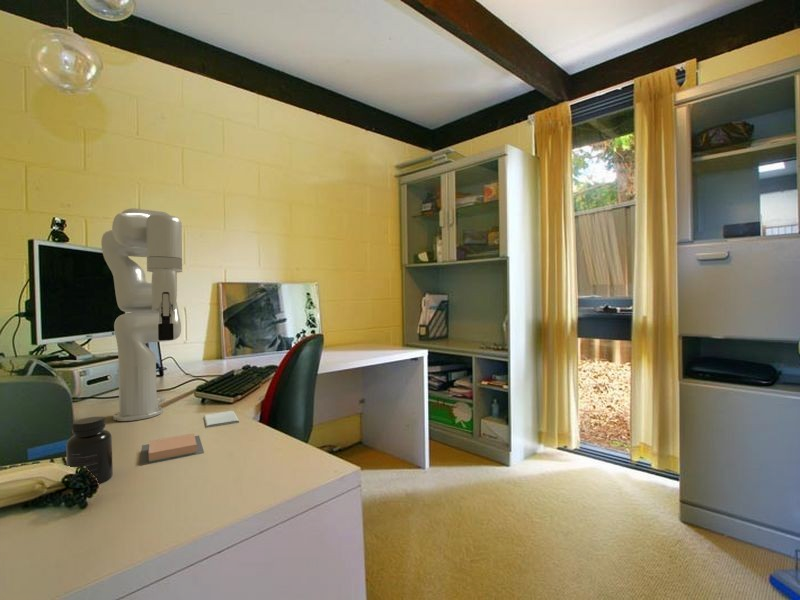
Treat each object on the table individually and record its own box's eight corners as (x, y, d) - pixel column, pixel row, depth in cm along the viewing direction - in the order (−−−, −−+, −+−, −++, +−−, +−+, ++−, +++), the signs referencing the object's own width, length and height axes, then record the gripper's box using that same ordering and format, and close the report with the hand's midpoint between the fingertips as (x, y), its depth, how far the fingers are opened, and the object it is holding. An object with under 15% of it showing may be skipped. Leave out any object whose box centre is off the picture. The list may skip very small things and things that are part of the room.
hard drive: (239, 420, 109) (233, 409, 120) (206, 425, 105) (203, 414, 116) (239, 426, 109) (233, 415, 120) (206, 431, 105) (203, 419, 116)
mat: (142, 446, 93) (142, 445, 93) (199, 436, 99) (199, 435, 99) (139, 467, 81) (139, 465, 81) (204, 454, 87) (204, 452, 87)
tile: (149, 440, 90) (148, 453, 82) (193, 433, 95) (196, 444, 87) (149, 449, 90) (148, 462, 82) (194, 441, 95) (196, 453, 87)
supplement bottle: (74, 479, 76) (73, 417, 76) (117, 472, 79) (116, 412, 79) (60, 494, 70) (59, 427, 70) (107, 486, 72) (105, 422, 73)
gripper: (147, 267, 101) (148, 338, 101) (146, 262, 88) (147, 343, 88) (180, 268, 105) (181, 336, 105) (184, 264, 92) (185, 341, 92)
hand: (166, 339), depth 97 cm, fingers closed
